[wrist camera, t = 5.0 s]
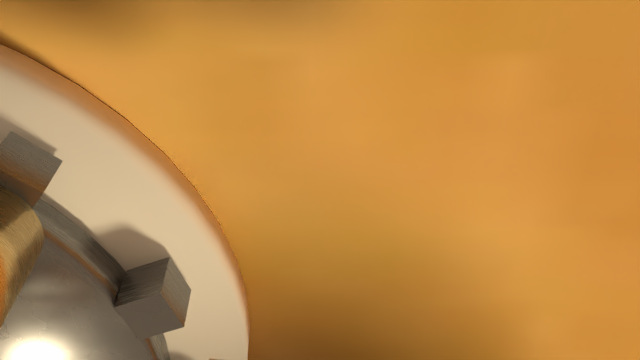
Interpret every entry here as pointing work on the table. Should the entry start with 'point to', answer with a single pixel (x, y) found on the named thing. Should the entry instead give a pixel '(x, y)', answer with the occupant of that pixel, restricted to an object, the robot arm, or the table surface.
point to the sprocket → (73, 278)
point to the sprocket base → (129, 201)
